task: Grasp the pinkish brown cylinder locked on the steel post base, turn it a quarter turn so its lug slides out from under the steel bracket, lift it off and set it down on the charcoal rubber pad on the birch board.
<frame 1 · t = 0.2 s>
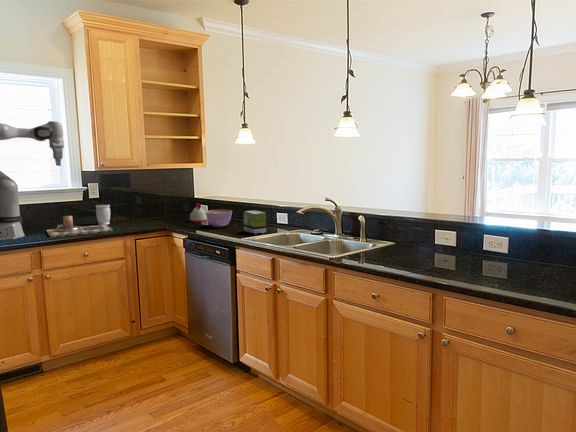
hand: (58, 165, 303), 47 cm above the worktop, fingers open, 8 cm apart
pinkish brown cylinder: (68, 227, 310), point 3 cm above the worktop, touching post
purple rounded bowl: (219, 226, 334), on the worktop
tea box: (255, 232, 310), on the worktop
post: (68, 232, 310), resting on board
kitchen timer: (198, 221, 360), on the worktop
jar: (104, 224, 345), on the worktop
board: (79, 231, 313), on the worktop
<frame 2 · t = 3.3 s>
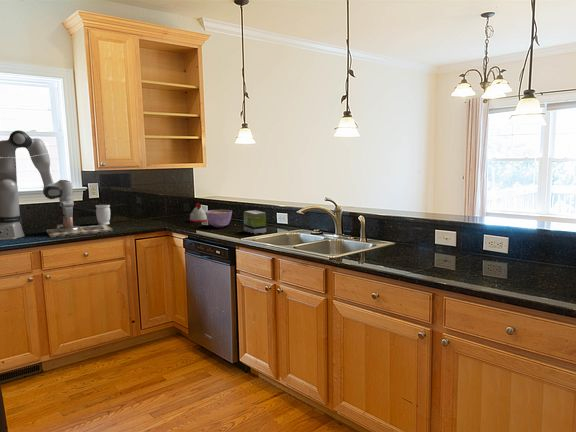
hand: (68, 222, 309), 7 cm above the worktop, fingers closed on pinkish brown cylinder, 6 cm apart
pinkish brown cylinder: (68, 227, 310), point 3 cm above the worktop, touching gripper, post
everything else where it was.
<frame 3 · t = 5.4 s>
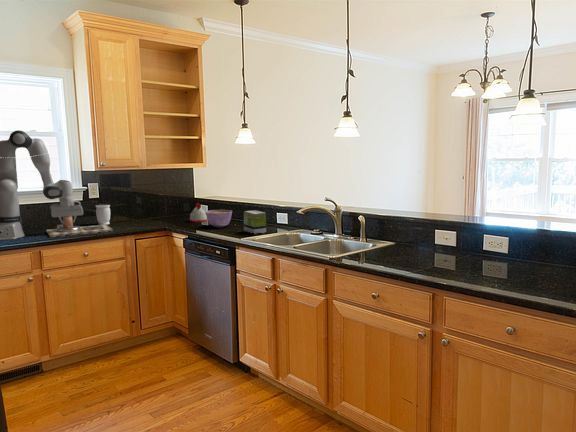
hand: (68, 222, 309), 7 cm above the worktop, fingers closed on pinkish brown cylinder, 6 cm apart
pinkish brown cylinder: (68, 227, 310), point 4 cm above the worktop, touching gripper
everything else where it was.
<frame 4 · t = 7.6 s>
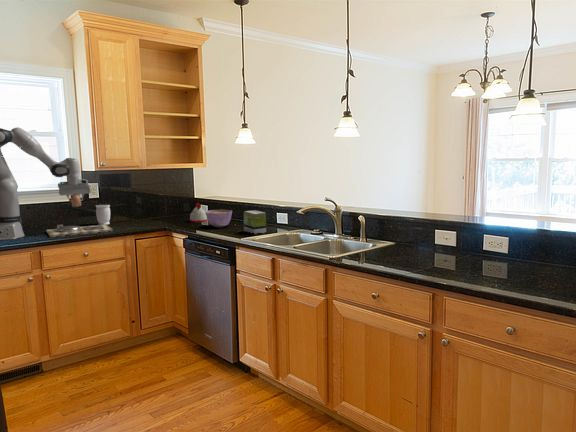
hand: (76, 200, 310), 22 cm above the worktop, fingers closed on pinkish brown cylinder, 6 cm apart
pinkish brown cylinder: (76, 205, 311), point 19 cm above the worktop, touching gripper
everything else where it was.
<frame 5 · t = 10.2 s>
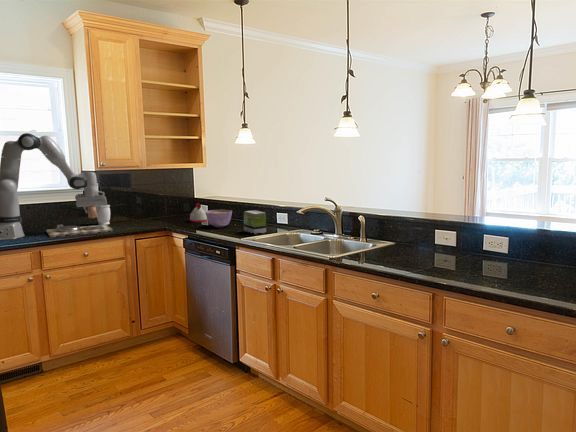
hand: (92, 212, 316), 13 cm above the worktop, fingers closed on pinkish brown cylinder, 6 cm apart
pinkish brown cylinder: (93, 217, 317), point 10 cm above the worktop, touching gripper
everything else where it was.
when the fingers open (7 cm above the worktop, at t = 12.2 s): pinkish brown cylinder drops 1 cm, resting on board.
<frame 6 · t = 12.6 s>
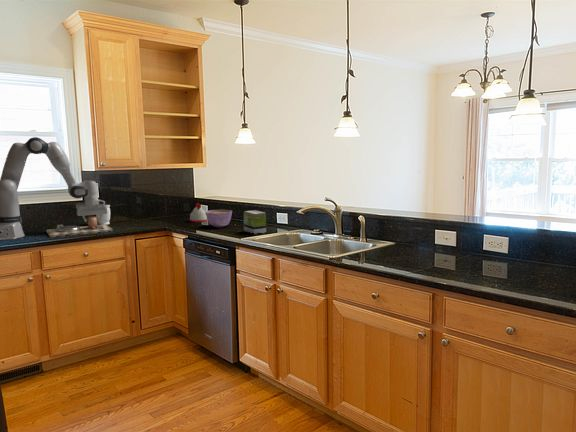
hand: (92, 221, 317), 7 cm above the worktop, fingers open, 8 cm apart
pinkish brown cylinder: (92, 228, 318), point 2 cm above the worktop, touching board
everything else where it was.
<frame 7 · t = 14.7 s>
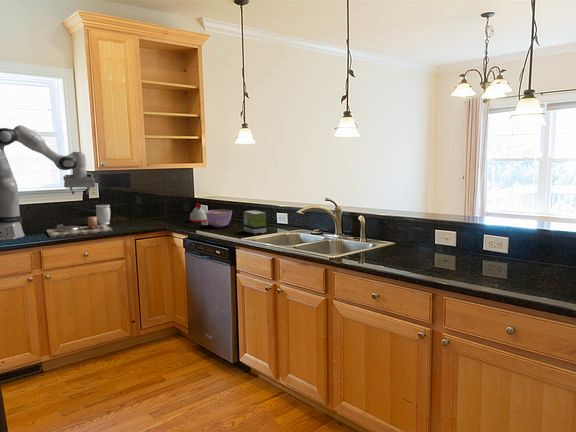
hand: (80, 193, 316), 26 cm above the worktop, fingers open, 8 cm apart
nothing on the worktop moved.
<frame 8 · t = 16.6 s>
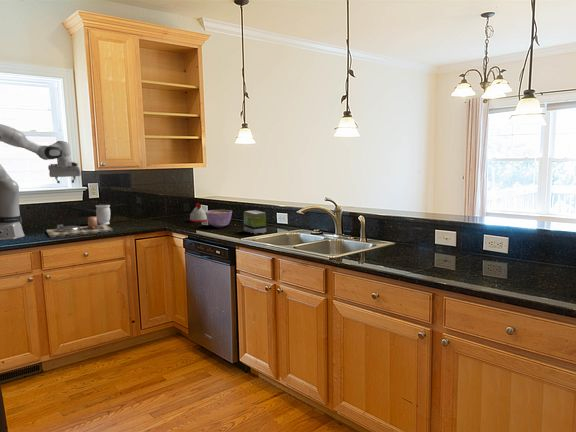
hand: (65, 183, 318), 34 cm above the worktop, fingers open, 8 cm apart
nothing on the worktop moved.
at the end: pinkish brown cylinder inside the target area (0.2 cm from its centre), point 1.7 cm above the worktop; pinkish brown cylinder tilted 0°; the gripper is holding nothing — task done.
